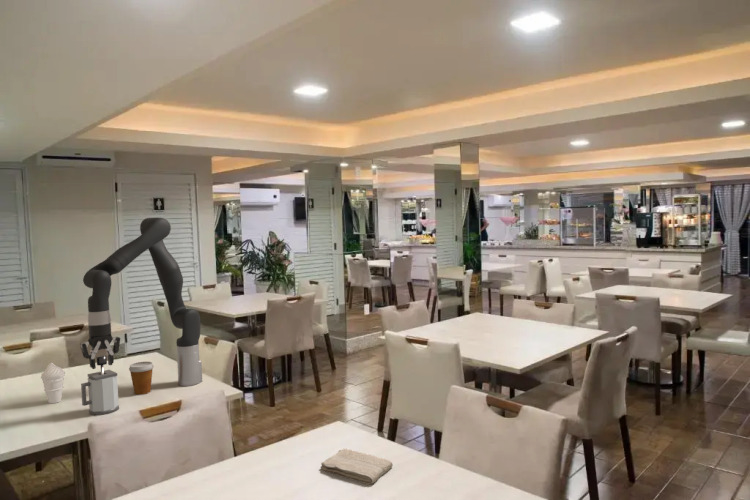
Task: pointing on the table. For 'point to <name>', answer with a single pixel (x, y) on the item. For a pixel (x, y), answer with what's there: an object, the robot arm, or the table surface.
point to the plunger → (101, 362)
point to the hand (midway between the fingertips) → (101, 366)
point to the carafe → (101, 393)
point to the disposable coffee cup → (141, 377)
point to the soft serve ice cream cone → (53, 382)
